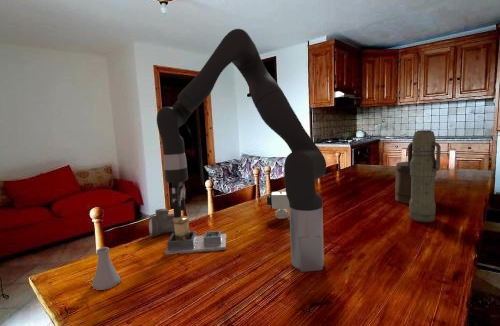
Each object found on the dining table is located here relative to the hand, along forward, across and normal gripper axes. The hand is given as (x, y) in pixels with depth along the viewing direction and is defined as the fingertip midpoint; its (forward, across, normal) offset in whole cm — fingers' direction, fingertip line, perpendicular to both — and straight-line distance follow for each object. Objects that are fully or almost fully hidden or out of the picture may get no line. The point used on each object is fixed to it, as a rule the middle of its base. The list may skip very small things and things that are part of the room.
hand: (180, 213), depth 100 cm
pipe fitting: (+12, +14, +9) cm, 21 cm away
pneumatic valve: (+12, +23, -39) cm, 47 cm away
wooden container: (+12, +34, -105) cm, 111 cm away
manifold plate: (+12, 0, -5) cm, 13 cm away
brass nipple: (+11, 0, 0) cm, 11 cm away
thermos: (+13, +9, -93) cm, 94 cm away
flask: (+12, -22, +17) cm, 30 cm away
